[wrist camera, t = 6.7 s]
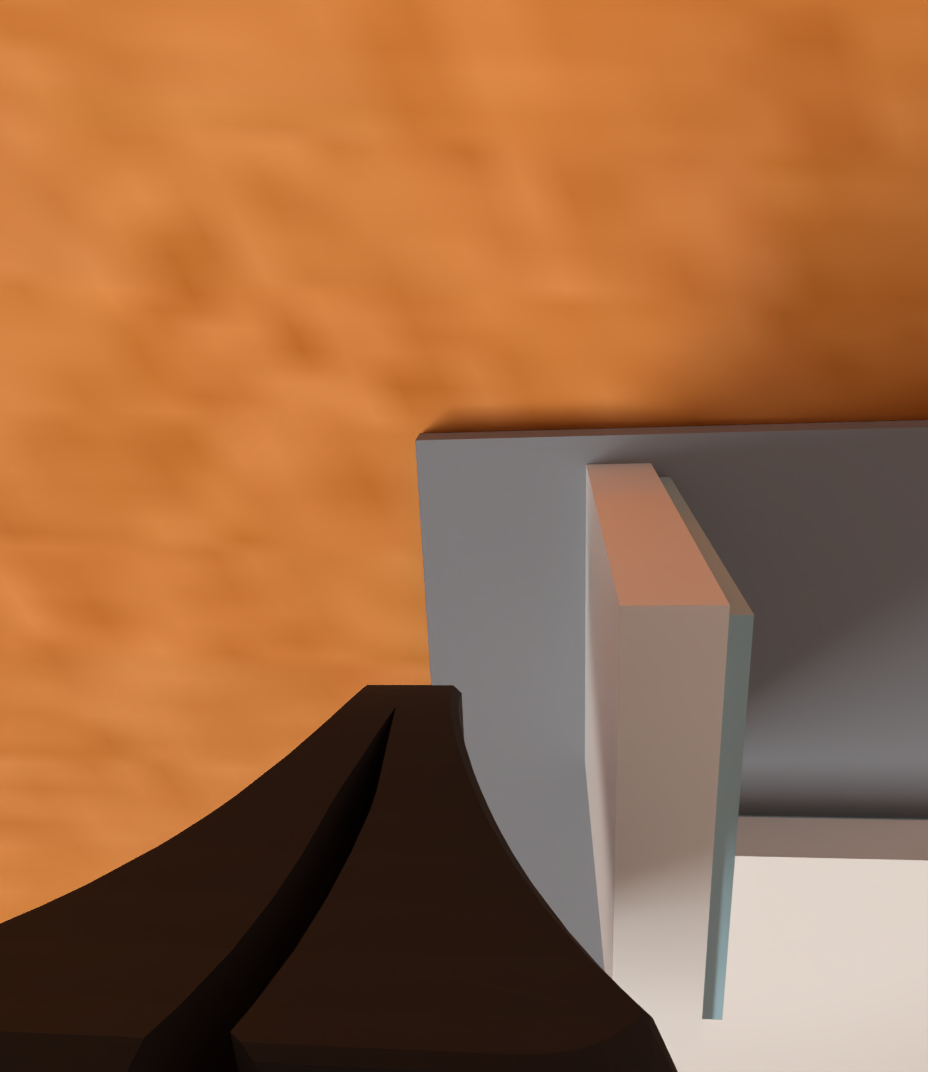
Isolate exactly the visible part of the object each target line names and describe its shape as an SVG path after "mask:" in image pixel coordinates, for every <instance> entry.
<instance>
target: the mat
mask: <svg viewBox="0 0 928 1072" xmlns="http://www.w3.org/2000/svg"><path fill="white" fill-rule="evenodd" d="M415 443H416V459H417V474H418V489H419V505H420V520H421V535H422V551H423V566H424V581H425V597H426V612H427V627H428V643H429V658H430V673H431V685H454V686H455V687H456V688H457V689H458V690H459V691H460V692H461V693H462V708H463V727H464V742H465V746H466V749H467V752H468V755H469V758H470V761H471V765H472V768H473V771H474V774H475V776H476V779H477V781H478V784H479V786H480V789H481V791H482V793H483V796H484V798H485V800H486V802H487V805H488V807H489V809H490V811H491V813H492V815H493V817H494V820H495V822H496V823H497V825H498V827H499V829H500V831H501V833H502V835H503V837H504V838H505V840H506V842H507V844H508V845H509V847H510V849H511V851H512V852H513V854H514V856H515V857H516V859H517V860H518V862H519V864H520V865H521V867H522V868H523V870H524V871H525V873H526V875H527V876H528V878H529V879H530V881H531V882H532V884H533V885H534V886H535V888H536V889H537V890H538V892H539V893H540V894H541V896H542V897H543V898H544V899H545V901H546V902H547V903H548V905H549V906H550V907H551V909H552V910H553V911H554V913H555V914H556V915H557V917H558V918H559V919H560V921H561V922H562V923H563V924H564V926H565V927H566V928H567V930H568V931H569V932H570V933H571V935H572V936H573V937H574V938H575V939H576V940H577V941H578V942H579V944H580V945H581V946H582V947H583V948H584V949H585V950H586V951H587V953H588V954H589V955H590V956H591V957H592V958H593V959H594V960H595V962H596V963H597V964H598V965H599V966H600V967H601V968H602V969H603V970H604V959H603V949H602V938H601V928H600V917H599V906H598V896H597V885H596V875H595V864H594V854H593V843H592V832H591V822H590V811H589V801H588V790H587V779H586V769H585V606H586V465H587V464H632V463H651V464H652V466H653V468H654V469H655V471H656V473H657V475H658V477H670V478H671V479H672V481H673V482H674V484H675V486H676V487H677V489H678V491H679V492H680V494H681V496H682V497H683V499H684V501H685V502H686V504H687V505H688V507H689V509H690V510H691V512H692V514H693V515H694V517H695V519H696V520H697V522H698V524H699V525H700V527H701V528H702V530H703V532H704V533H705V535H706V537H707V538H708V540H709V542H710V543H711V545H712V547H713V548H714V550H715V551H716V553H717V555H718V556H719V558H720V560H721V561H722V563H723V565H724V566H725V568H726V569H727V571H728V573H729V574H730V576H731V578H732V579H733V581H734V583H735V584H736V586H737V588H738V589H739V591H740V592H741V594H742V596H743V597H744V599H745V601H746V602H747V604H748V606H749V607H750V609H751V611H752V612H753V614H754V622H753V635H752V648H751V661H750V673H749V686H748V699H747V712H746V724H745V737H744V750H743V763H742V775H741V788H740V801H739V814H738V815H751V816H805V817H859V818H913V819H928V420H901V421H864V422H826V423H789V424H752V425H714V426H677V427H640V428H603V429H565V430H528V431H491V432H453V433H420V434H419V436H418V437H417V439H416V440H415ZM604 971H605V970H604Z"/></svg>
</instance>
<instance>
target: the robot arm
mask: <svg viewBox="0 0 928 1072" xmlns="http://www.w3.org/2000/svg"><path fill="white" fill-rule="evenodd" d="M0 1072H678V1071H677V1069H676V1067H675V1064H674V1062H673V1060H672V1058H671V1056H670V1054H669V1051H668V1049H667V1047H666V1045H665V1043H664V1041H663V1038H662V1036H661V1034H660V1032H659V1030H658V1028H657V1026H656V1023H655V1021H654V1019H653V1018H652V1017H651V1016H650V1015H649V1014H648V1013H647V1012H646V1011H645V1010H644V1009H643V1008H642V1007H641V1006H639V1005H638V1004H637V1003H636V1002H635V1001H634V1000H633V999H632V998H631V997H630V996H629V995H628V994H627V993H626V992H625V991H624V990H623V989H622V988H621V987H620V986H619V985H618V984H617V983H616V982H615V981H614V980H613V979H612V978H611V977H610V976H609V975H608V974H607V973H606V972H605V971H604V970H603V969H602V968H601V967H600V966H599V965H598V964H597V963H596V962H595V960H594V959H593V958H592V957H591V956H590V955H589V954H588V953H587V951H586V950H585V949H584V948H583V947H582V946H581V945H580V944H579V942H578V941H577V940H576V939H575V938H574V937H573V936H572V935H571V933H570V932H569V931H568V930H567V928H566V927H565V926H564V924H563V923H562V922H561V921H560V919H559V918H558V917H557V915H556V914H555V913H554V911H553V910H552V909H551V907H550V906H549V905H548V903H547V902H546V901H545V899H544V898H543V897H542V896H541V894H540V893H539V892H538V890H537V889H536V888H535V886H534V885H533V884H532V882H531V881H530V879H529V878H528V876H527V875H526V873H525V871H524V870H523V868H522V867H521V865H520V864H519V862H518V860H517V859H516V857H515V856H514V854H513V852H512V851H511V849H510V847H509V845H508V844H507V842H506V840H505V838H504V837H503V835H502V833H501V831H500V829H499V827H498V825H497V823H496V822H495V820H494V817H493V815H492V813H491V811H490V809H489V807H488V805H487V802H486V800H485V798H484V796H483V793H482V791H481V789H480V786H479V784H478V781H477V779H476V776H475V774H474V771H473V768H472V765H471V761H470V758H469V755H468V752H467V749H466V746H465V742H464V727H463V708H462V693H461V692H460V691H459V690H458V689H457V688H456V687H455V686H454V685H367V686H365V687H364V688H363V689H362V690H361V691H359V692H358V693H357V694H356V695H355V696H354V697H353V698H351V699H350V700H349V701H348V702H347V703H346V704H345V705H344V706H343V707H342V708H341V709H339V710H338V711H337V712H336V713H335V714H334V715H333V716H332V717H331V718H330V719H328V720H327V721H326V722H325V723H324V724H323V725H322V726H321V727H320V728H318V729H317V730H316V731H315V732H314V733H313V734H312V735H310V736H309V737H308V738H307V739H306V740H305V741H304V742H302V743H301V744H300V745H299V746H298V747H297V748H296V749H294V750H293V751H292V752H291V753H290V754H289V755H287V756H286V757H285V758H284V759H282V760H281V761H280V762H278V763H277V764H276V765H275V766H273V767H272V768H271V769H269V770H268V771H267V772H266V773H264V774H263V775H262V776H261V777H259V778H258V779H257V780H255V781H254V782H253V783H252V784H250V785H249V786H248V787H246V788H245V789H244V790H243V791H241V792H240V793H239V794H237V795H236V796H235V797H233V798H232V799H231V800H229V801H228V802H226V803H225V804H224V805H222V806H221V807H219V808H218V809H216V810H215V811H213V812H212V813H210V814H209V815H207V816H206V817H204V818H203V819H201V820H200V821H198V822H197V823H195V824H193V825H192V826H190V827H189V828H187V829H185V830H184V831H182V832H181V833H179V834H178V835H176V836H174V837H173V838H171V839H170V840H168V841H166V842H164V843H163V844H161V845H159V846H158V847H156V848H154V849H152V850H150V851H148V852H147V853H145V854H143V855H141V856H139V857H137V858H135V859H134V860H132V861H130V862H128V863H126V864H124V865H122V866H121V867H119V868H117V869H115V870H113V871H111V872H109V873H108V874H106V875H104V876H102V877H100V878H98V879H96V880H95V881H93V882H91V883H89V884H87V885H85V886H83V887H81V888H79V889H77V890H75V891H72V892H70V893H68V894H66V895H64V896H62V897H60V898H57V899H55V900H53V901H51V902H49V903H47V904H45V905H42V906H40V907H38V908H36V909H33V910H31V911H29V912H26V913H24V914H22V915H19V916H17V917H15V918H12V919H10V920H8V921H5V922H3V923H1V924H0Z"/></svg>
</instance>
